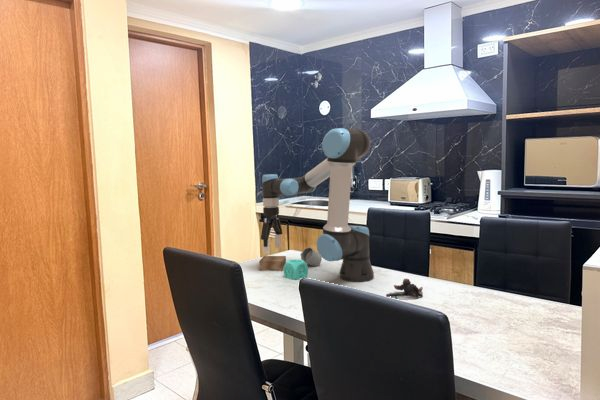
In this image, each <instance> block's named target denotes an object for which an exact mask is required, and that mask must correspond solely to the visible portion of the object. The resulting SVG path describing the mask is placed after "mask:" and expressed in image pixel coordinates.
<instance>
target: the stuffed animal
mask: <svg viewBox="0 0 600 400" xmlns="http://www.w3.org/2000/svg"><path fill="white" fill-rule="evenodd" d="M410 280H411V279H409V278H403V281H402V284H400V285H396V284H394V285H393V287H394V289H395V290H396V291H397V292H389V293H386V294H385V296H386V297H387V298H388V297H389V298H391V299H392V298H395V299H394V300H396V299H399V300H398V301H404V300H414V299H415V300H416V299H419V298H422V297H423V296H424V295H423V293H424V292H423V288H424V287H422V286H420V287H418V286H417V285H416V284H414V283H412V282H411V281H410ZM390 296H391V297H390Z"/></svg>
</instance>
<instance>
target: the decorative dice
mask: <svg viewBox="0 0 600 400" xmlns="http://www.w3.org/2000/svg"><path fill="white" fill-rule="evenodd" d="M282 272H283V275H284V277H285V278H286V279H290V280H293V281H294V280H295V281H296V280H301V279H300V278H302V279H304V278H303V277H306V278H307V276H308V274H309V267H308V264H307V263H305V261H303V260H301V259H297V258H296V259H295V258H294V259H289V260H286V263H285V265H284V270H283V271H282Z"/></svg>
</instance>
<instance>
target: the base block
mask: <svg viewBox="0 0 600 400" xmlns="http://www.w3.org/2000/svg"><path fill="white" fill-rule="evenodd" d="M258 262H259V263H258V264H259V271H260V272H262V271H263V272H266V271H267V272H284V271H283V270H284V265H285V263H286V262H287V256H286V255H263V256H262V257H261V259H260V260H259V261H258Z"/></svg>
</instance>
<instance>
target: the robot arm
mask: <svg viewBox="0 0 600 400" xmlns="http://www.w3.org/2000/svg"><path fill="white" fill-rule="evenodd" d="M321 146H322V147H321V148H322V151H323V153H324V155H325V157H327V158H325V159H324V160H323V161H322V162H320V163H319V164H317V165H316V166H315V167H313V168H312V169H311V170H309V171H308V172H307V173H306V174H303V176H300V177H293V178H279V176H278V174H275V173H274V174H273V173H272V174H271V173H270V174H269V173H268V174H263V175H262V177H261V178H262V180H261V181H262V183H261V186H262V188H261V189H262V206H263V208H262V209H263V210H262V211H263V213H262V214H263V216H266V217H264V218H263V219H262V228H261V235H260V240H261V241H262V243H263V247H262V248H263V254H265V255H267V254H270V239H269V237H270V234H271V230H274V233H275V234H274V248H275V249H276V248H277V249H278V248H279V249H280V248H282V245H281V243H282V241H281V235H282V234H283V228H282V224H281V220H280V203H279V195H281V196H287V197H288V196H294V195H299V194H308V193H313V192H314V191H315V190H316V189H317V186H318V185H320V184H321V183H323V182H324V181H326V180H327V179H328V178H329V188H328V190H329V191H328V206H327V218H326V219H327V220H326V224H324V226H323V227H322V234H320V236H319V237H317V239H316V251H317V252H318V253H319V254H320V255H321V257H322V259H323V260H324V261H327V262H338V261H340V260H342V262H341V265H340V269H339V274H338V275H339V279H340V280H342V281H345V282H350V283H351V282H353V283H356V282H357V283H359V282H360V283H362V282H363V283H364V282H369V281H371V280H373V279H374V278H375V275H374V274H375V273H374V270H373V267H372V264H371V260H370V237H371V236H370V229H369V228H368V227H367V226H362V225H349V213H350V200H351V199H350V198H351V186H352V185H351V184H352V172H353V167H354V166H355V164H357V161H359V160H360V159H361V158H363V157H365V155H367V154H368V153H369V150H370V148H371V140H370V137H369V134H368V133H366V131H364V130H362V129H359V128H343V127H339V128H338V127H337V128H332V129H330V130H329V131H328V132H326V134H325V135H324V137H323V139H322V145H321Z"/></svg>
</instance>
